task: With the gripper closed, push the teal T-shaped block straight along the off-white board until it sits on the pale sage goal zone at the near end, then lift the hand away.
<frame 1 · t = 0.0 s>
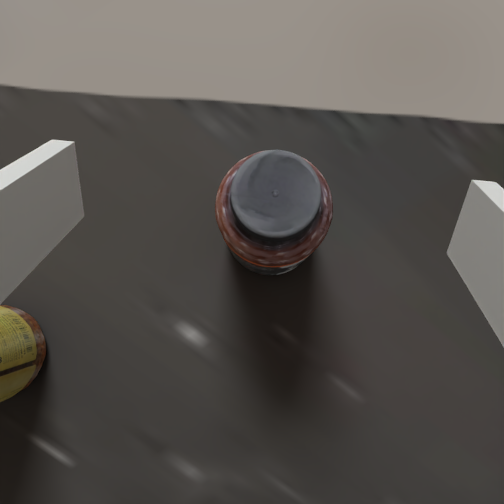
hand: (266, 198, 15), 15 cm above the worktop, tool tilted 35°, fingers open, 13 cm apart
supplement bottle: (270, 233, 30), on the worktop
sauce bottle: (7, 352, 30), on the worktop
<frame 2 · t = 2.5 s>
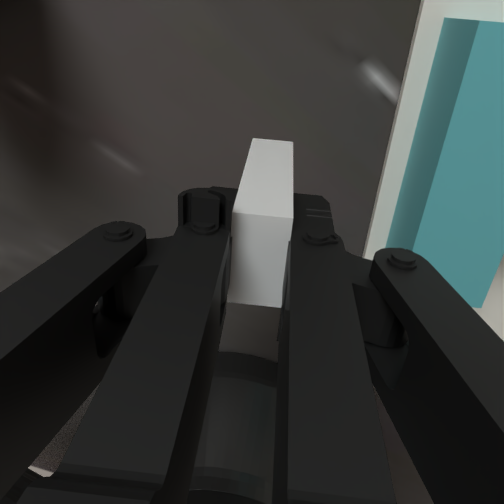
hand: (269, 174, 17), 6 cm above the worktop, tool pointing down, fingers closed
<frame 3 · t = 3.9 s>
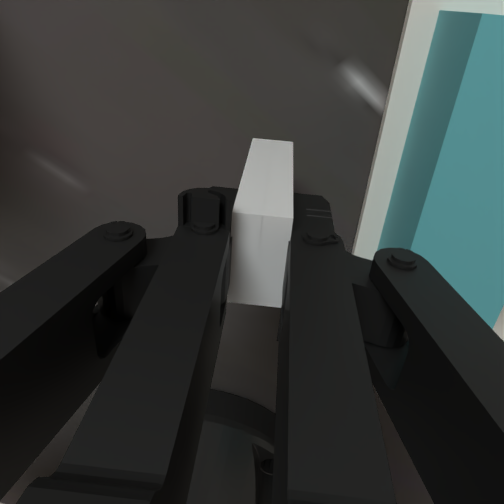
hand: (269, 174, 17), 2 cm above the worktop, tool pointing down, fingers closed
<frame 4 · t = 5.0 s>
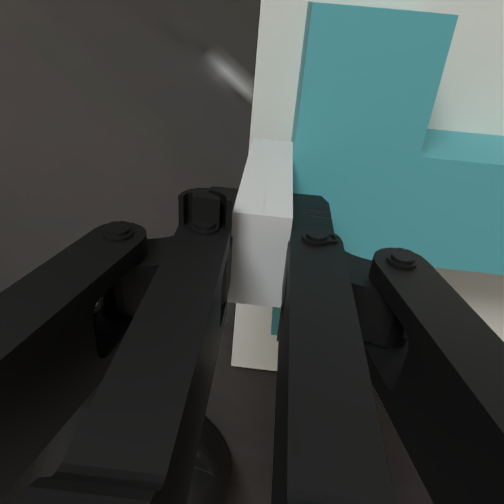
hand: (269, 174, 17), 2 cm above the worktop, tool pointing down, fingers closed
t block: (430, 178, 18), point 1 cm above the worktop, touching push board
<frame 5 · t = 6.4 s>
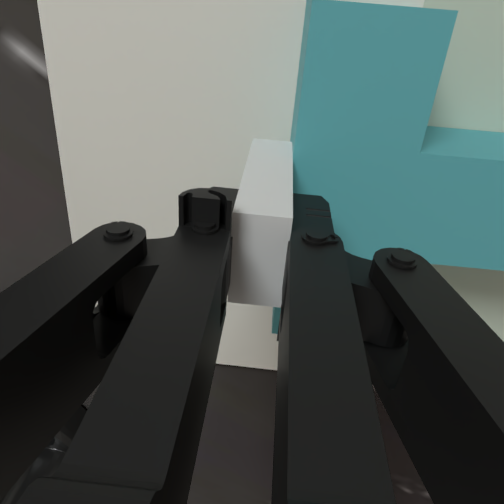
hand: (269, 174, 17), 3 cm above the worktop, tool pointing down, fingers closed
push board: (404, 171, 19), on the worktop
t block: (430, 175, 18), point 1 cm above the worktop, touching gripper
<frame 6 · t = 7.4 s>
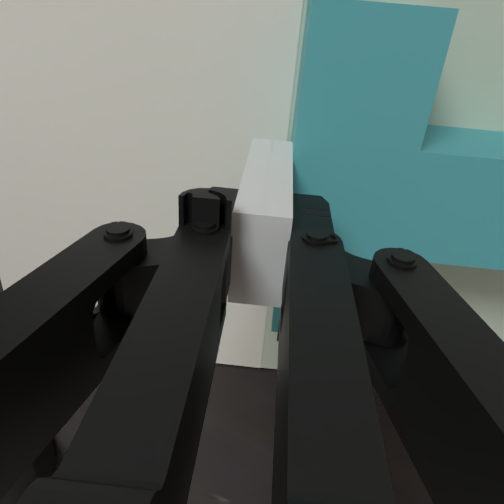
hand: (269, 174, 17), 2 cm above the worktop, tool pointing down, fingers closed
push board: (307, 160, 19), on the worktop
t block: (431, 174, 18), resting on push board, touching gripper
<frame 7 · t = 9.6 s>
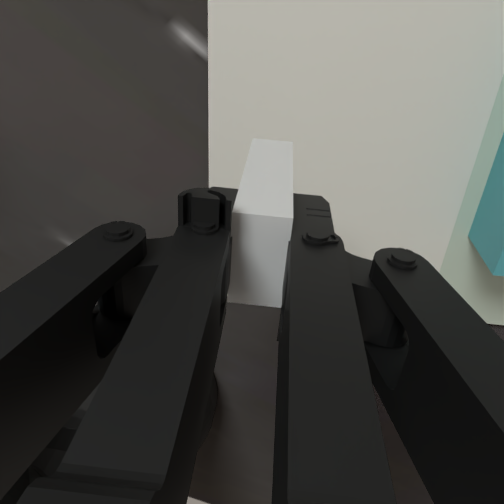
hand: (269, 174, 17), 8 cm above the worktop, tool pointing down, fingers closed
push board: (502, 129, 22), on the worktop
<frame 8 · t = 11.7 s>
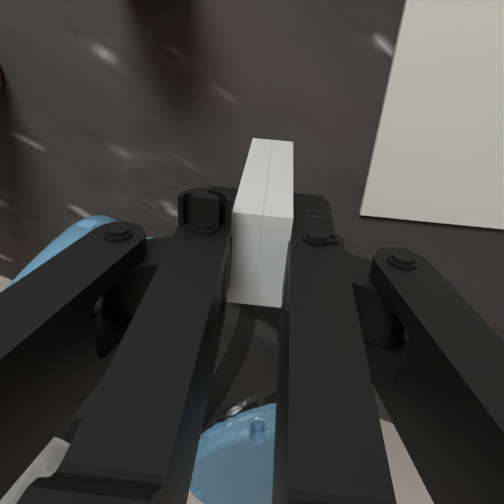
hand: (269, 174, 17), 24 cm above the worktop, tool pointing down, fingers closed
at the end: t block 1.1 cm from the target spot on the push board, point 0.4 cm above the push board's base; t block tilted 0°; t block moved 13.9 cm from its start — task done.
